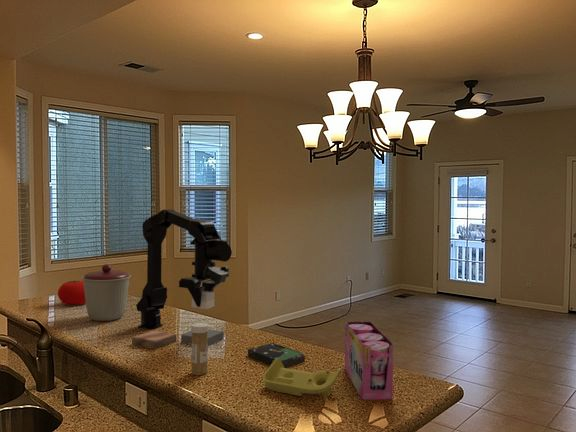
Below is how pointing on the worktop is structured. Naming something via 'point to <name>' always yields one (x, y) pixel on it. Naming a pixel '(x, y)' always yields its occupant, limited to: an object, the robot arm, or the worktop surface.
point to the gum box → (369, 360)
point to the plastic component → (299, 380)
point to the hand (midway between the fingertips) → (202, 305)
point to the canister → (106, 293)
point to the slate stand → (212, 337)
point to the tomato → (72, 293)
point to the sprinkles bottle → (199, 348)
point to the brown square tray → (154, 339)
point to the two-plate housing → (205, 300)
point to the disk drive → (276, 354)
